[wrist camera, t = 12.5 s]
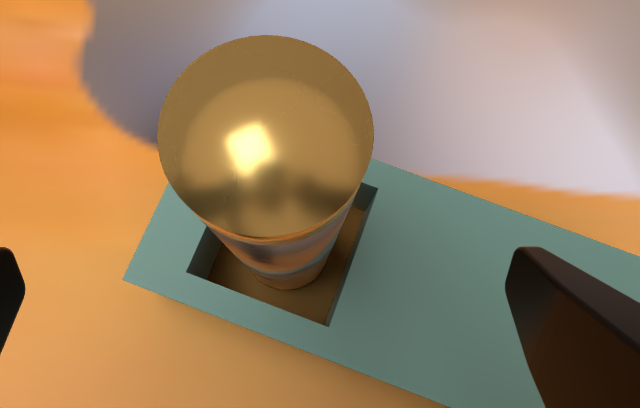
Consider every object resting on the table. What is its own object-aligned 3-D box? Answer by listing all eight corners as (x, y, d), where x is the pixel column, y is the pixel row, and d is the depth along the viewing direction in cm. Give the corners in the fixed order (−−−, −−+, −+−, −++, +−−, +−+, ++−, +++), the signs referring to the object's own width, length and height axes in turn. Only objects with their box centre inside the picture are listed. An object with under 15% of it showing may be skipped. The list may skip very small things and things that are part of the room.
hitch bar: (153, 287, 22) (121, 279, 18) (223, 135, 24) (208, 98, 20) (573, 450, 21) (636, 480, 17) (609, 278, 23) (673, 269, 19)
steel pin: (250, 296, 22) (169, 255, 8) (238, 213, 23) (147, 50, 9) (336, 281, 22) (394, 215, 8) (320, 199, 23) (350, 22, 9)
